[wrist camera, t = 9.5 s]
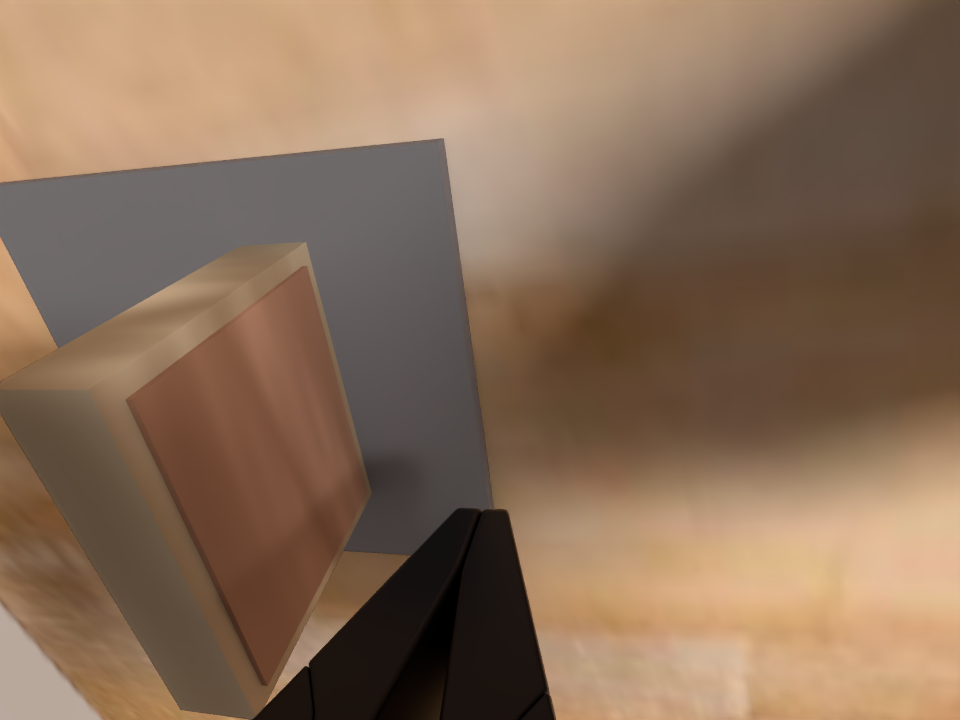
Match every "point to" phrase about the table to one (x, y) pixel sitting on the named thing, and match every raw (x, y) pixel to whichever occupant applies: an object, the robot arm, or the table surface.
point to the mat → (341, 283)
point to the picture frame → (204, 467)
